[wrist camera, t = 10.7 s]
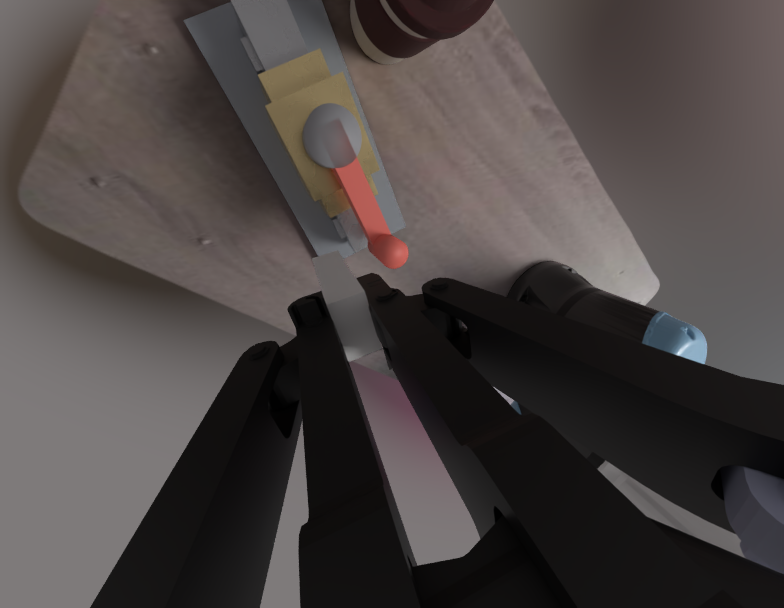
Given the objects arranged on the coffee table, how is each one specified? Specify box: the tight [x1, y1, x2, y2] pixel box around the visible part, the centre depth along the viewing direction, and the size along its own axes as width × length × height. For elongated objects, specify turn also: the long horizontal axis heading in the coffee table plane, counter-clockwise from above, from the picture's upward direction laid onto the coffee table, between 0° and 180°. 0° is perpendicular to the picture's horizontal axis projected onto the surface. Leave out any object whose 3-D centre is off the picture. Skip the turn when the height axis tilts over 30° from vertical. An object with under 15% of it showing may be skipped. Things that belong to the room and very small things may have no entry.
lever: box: [302, 103, 408, 269], centre depth 25 cm, size 14×4×6 cm, turn 25°
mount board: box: [183, 0, 406, 259], centre depth 32 cm, size 25×12×1 cm, turn 23°
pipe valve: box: [231, 0, 380, 253], centre depth 29 cm, size 22×7×7 cm, turn 23°
